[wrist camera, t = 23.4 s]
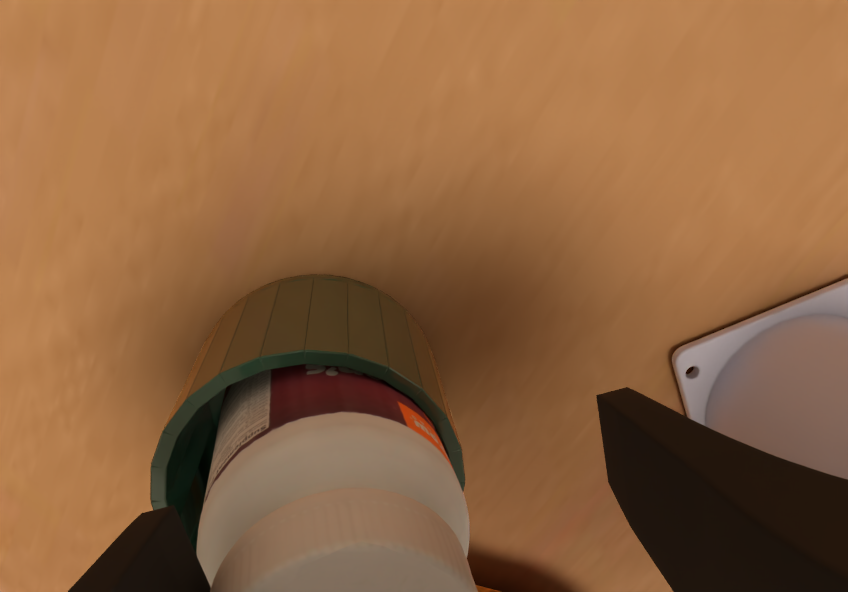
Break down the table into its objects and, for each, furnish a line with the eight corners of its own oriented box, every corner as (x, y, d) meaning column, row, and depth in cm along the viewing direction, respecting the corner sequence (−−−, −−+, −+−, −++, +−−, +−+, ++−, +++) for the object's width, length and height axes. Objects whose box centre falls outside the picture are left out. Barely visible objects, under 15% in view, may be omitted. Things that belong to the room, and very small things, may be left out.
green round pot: (467, 431, 24) (505, 544, 19) (265, 514, 25) (242, 650, 19) (381, 235, 21) (394, 300, 16) (152, 332, 22) (85, 429, 16)
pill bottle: (439, 353, 23) (581, 576, 12) (357, 499, 24) (422, 825, 13) (273, 278, 21) (268, 466, 10) (192, 441, 22) (110, 768, 11)
